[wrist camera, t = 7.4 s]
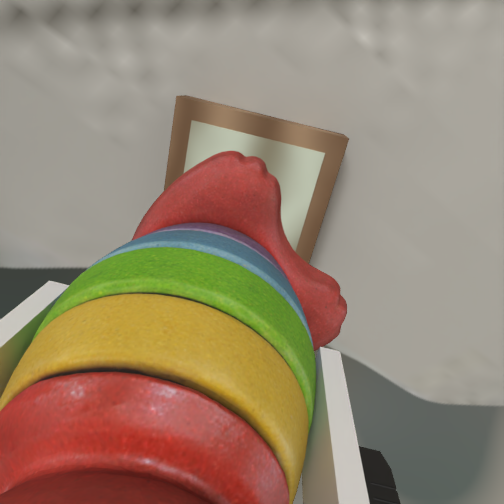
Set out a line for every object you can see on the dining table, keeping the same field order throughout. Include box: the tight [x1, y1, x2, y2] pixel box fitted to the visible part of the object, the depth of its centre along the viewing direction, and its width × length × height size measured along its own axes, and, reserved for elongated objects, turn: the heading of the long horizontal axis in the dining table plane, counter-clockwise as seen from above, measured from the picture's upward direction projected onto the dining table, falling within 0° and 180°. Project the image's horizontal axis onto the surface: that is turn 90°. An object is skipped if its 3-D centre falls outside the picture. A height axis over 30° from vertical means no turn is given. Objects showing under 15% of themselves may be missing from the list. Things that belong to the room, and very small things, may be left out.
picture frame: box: [164, 96, 349, 264], centre depth 34 cm, size 14×14×3 cm
